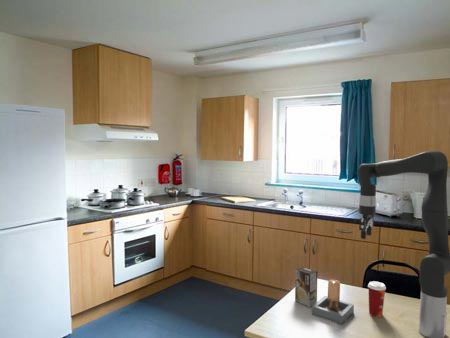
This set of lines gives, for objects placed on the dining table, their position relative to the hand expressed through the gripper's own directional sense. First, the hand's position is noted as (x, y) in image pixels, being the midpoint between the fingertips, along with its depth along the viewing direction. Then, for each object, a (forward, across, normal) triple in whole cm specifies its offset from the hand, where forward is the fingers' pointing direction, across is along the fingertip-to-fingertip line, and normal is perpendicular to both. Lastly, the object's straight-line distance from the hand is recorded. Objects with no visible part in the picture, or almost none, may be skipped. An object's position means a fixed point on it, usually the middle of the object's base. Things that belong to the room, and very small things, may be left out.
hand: (366, 236), depth 175 cm
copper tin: (+31, -24, +6) cm, 40 cm away
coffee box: (+32, -21, +21) cm, 44 cm away
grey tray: (+32, -24, +6) cm, 41 cm away
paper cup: (+32, -11, -9) cm, 35 cm away
